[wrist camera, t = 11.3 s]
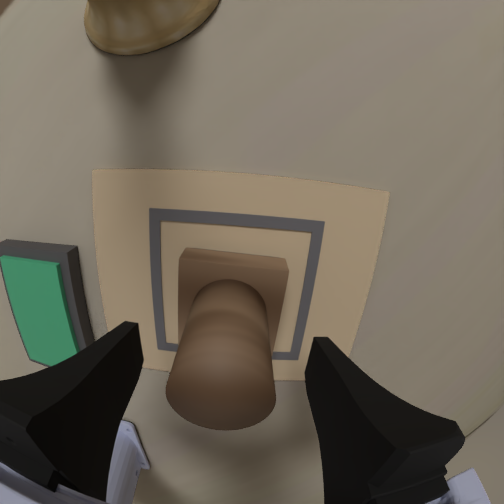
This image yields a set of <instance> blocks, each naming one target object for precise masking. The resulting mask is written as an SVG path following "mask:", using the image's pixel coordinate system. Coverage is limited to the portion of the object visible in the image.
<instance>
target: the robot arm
mask: <svg viewBox="0 0 504 504" xmlns="http://www.w3.org/2000/svg"><path fill="white" fill-rule="evenodd" d="M143 362H144V357H143V351H142V345H141V338H140V332H139V324H138V323H136V322H129V321H124V322H123V323H121V324H120V325H118V326H117V327H115V328H114V329H112V330H111V331H110V332H108V333H107V334H105V335H104V336H102V337H101V338H100V339H98V340H97V341H95V342H94V343H92V344H91V345H89V346H88V347H86V348H84V349H83V350H81V351H80V352H78V353H76V354H75V355H73V356H71V357H69V358H68V359H66V360H64V361H62V362H60V363H58V364H56V365H53V366H51V367H48V368H46V369H43V370H41V371H38V372H35V373H32V374H29V375H26V376H22V377H18V378H13V379H8V380H2V381H0V504H132V502H133V498H134V493H135V489H136V485H137V481H138V477H139V473H140V470H141V468H143V469H150V465H149V462H148V460H147V458H146V455H145V453H144V450H143V448H142V445H141V443H140V440H139V438H138V435H137V432H136V430H135V427H134V425H133V424H132V423H130V422H127V421H123V420H122V417H123V415H124V413H125V410H126V408H127V405H128V403H129V401H130V398H131V396H132V394H133V391H134V389H135V387H136V384H137V382H138V380H139V376H140V373H141V369H142V366H143ZM304 374H305V383H306V391H307V396H308V400H309V403H310V407H311V411H312V415H313V419H314V422H315V426H316V430H317V434H318V438H319V443H320V451H321V459H322V469H323V482H324V504H491V503H490V501H489V499H488V496H487V494H486V492H485V490H484V488H483V486H482V484H481V482H480V480H479V478H478V476H477V474H476V472H475V470H474V468H470V469H468V470H466V471H464V472H462V473H460V474H457V475H456V476H453V477H452V478H450V479H449V480H447V481H446V480H445V478H444V475H446V474H447V470H446V468H445V465H446V464H447V463H448V462H449V461H450V460H451V459H452V458H453V457H454V456H455V455H456V453H458V451H459V450H460V449H461V448H462V446H463V444H464V442H465V436H464V435H463V433H462V431H461V430H460V428H459V426H458V425H457V423H456V421H453V420H449V419H446V418H443V417H440V416H437V415H434V414H431V413H429V412H426V411H424V410H422V409H419V408H417V407H415V406H413V405H411V404H409V403H407V402H406V401H404V400H402V399H400V398H398V397H397V396H395V395H394V394H392V393H390V392H389V391H388V390H386V389H385V388H383V387H382V386H380V385H379V384H378V383H376V382H375V381H374V380H373V379H371V378H370V377H369V376H368V375H367V374H366V373H364V372H363V371H362V370H361V369H360V368H359V367H358V366H357V365H356V364H354V363H353V362H352V361H351V360H350V359H349V358H348V357H347V356H346V355H345V354H344V353H343V352H342V351H341V350H340V349H339V348H338V346H337V345H336V344H335V343H334V342H333V341H332V340H331V339H330V338H329V337H313V341H312V345H311V349H310V353H309V357H308V361H307V365H306V369H305V372H304Z"/></svg>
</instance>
